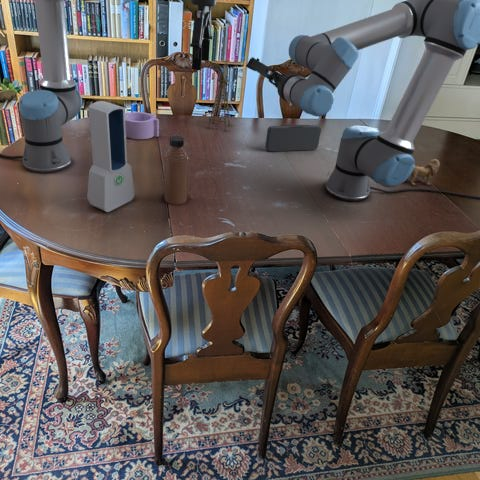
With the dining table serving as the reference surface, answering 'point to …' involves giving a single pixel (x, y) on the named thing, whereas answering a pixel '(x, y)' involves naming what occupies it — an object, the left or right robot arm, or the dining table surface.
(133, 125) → the clip
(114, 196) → the electronic device
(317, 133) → the handheld gaming console
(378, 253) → the dining table surface
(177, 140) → the cap
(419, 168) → the lion figurine
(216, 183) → the dining table surface
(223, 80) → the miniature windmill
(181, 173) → the bottle
